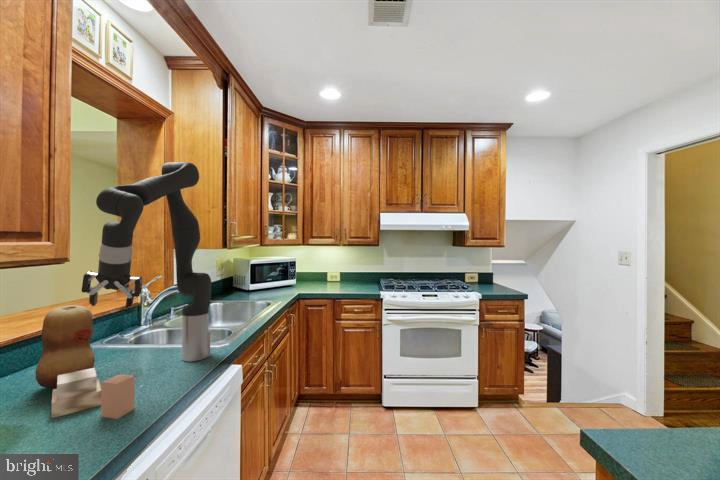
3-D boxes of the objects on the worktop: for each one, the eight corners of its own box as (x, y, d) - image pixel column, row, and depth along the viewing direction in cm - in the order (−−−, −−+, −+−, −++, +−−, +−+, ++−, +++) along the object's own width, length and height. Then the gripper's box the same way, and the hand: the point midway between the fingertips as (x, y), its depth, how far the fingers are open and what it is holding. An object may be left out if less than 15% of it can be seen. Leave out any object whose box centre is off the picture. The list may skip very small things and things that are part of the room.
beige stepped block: (98, 392, 96) (98, 365, 96) (101, 404, 89) (101, 376, 89) (52, 403, 89) (52, 375, 89) (51, 418, 82) (51, 387, 82)
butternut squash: (61, 398, 92) (61, 312, 92) (23, 394, 94) (23, 310, 94) (106, 377, 106) (106, 302, 106) (71, 375, 108) (72, 301, 108)
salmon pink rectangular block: (119, 406, 88) (119, 374, 88) (134, 408, 87) (134, 375, 87) (101, 416, 83) (101, 382, 83) (117, 418, 82) (117, 384, 82)
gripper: (147, 256, 99) (142, 301, 103) (91, 248, 93) (87, 297, 98) (140, 266, 92) (135, 314, 96) (79, 258, 87) (76, 310, 91)
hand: (111, 305), depth 97 cm, fingers open, 8 cm apart
